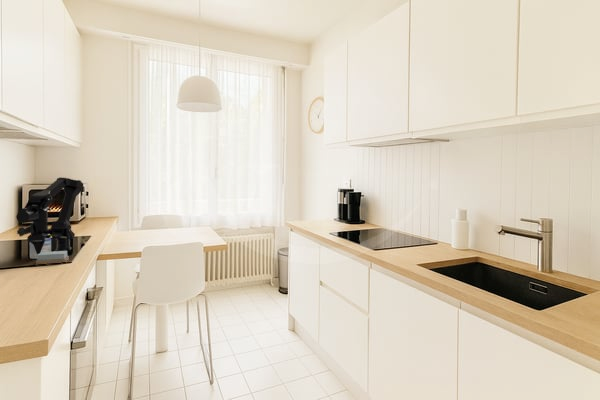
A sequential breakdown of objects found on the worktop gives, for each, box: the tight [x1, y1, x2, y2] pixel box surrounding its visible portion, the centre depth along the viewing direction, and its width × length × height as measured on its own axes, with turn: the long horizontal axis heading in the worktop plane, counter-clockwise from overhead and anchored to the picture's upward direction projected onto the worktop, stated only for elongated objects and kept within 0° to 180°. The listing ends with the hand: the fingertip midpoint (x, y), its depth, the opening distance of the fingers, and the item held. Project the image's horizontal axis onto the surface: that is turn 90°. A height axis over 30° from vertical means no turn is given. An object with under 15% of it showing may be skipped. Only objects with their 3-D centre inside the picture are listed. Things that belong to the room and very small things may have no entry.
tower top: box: [36, 250, 68, 261], centre depth 151 cm, size 6×10×2 cm, turn 115°
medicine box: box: [28, 237, 52, 260], centre depth 159 cm, size 8×4×9 cm, turn 179°
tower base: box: [35, 255, 69, 265], centre depth 151 cm, size 7×11×2 cm, turn 117°
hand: (40, 251), depth 159 cm, fingers closed on medicine box, 9 cm apart
